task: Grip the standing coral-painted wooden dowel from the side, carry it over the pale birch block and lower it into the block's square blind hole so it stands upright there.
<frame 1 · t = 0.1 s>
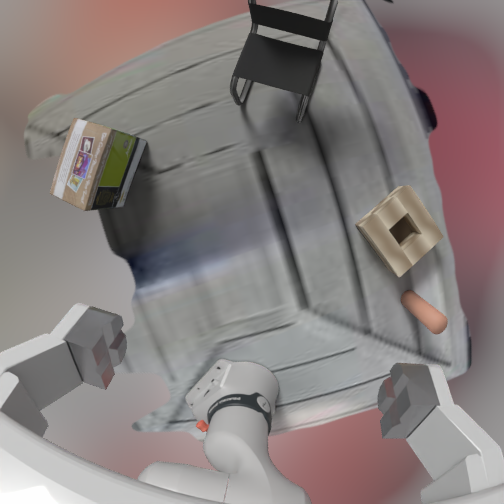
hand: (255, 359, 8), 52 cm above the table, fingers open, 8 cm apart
tea box: (117, 167, 61), on the table
socket block: (394, 228, 58), on the table
dowel: (408, 298, 60), on the table
chair: (280, 80, 55), on the table
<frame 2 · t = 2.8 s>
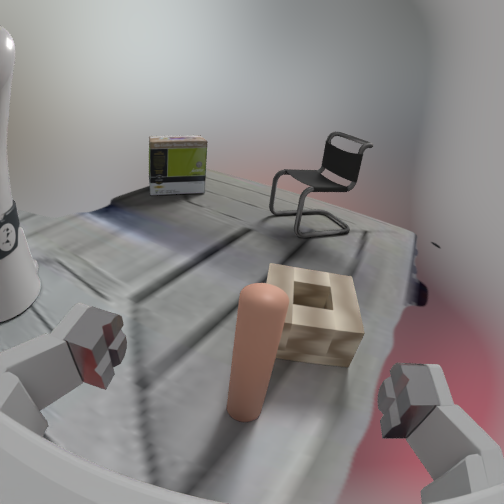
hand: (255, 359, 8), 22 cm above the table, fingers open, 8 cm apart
tea box: (175, 189, 85), on the table
socket block: (302, 329, 42), on the table
dowel: (244, 407, 30), on the table
chair: (310, 224, 74), on the table
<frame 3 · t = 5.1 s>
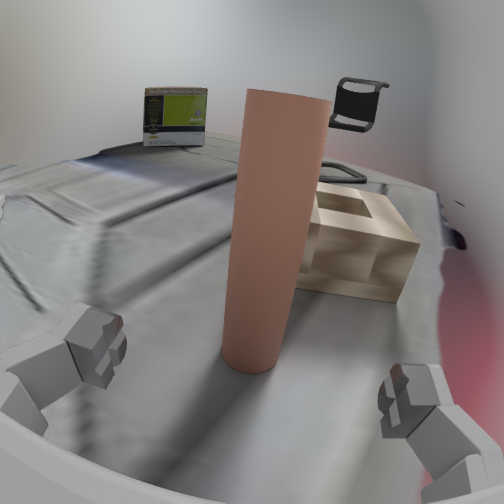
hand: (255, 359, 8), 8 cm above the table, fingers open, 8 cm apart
tea box: (171, 143, 74), on the table
socket block: (328, 258, 31), on the table
dowel: (250, 352, 19), on the table
chair: (322, 173, 63), on the table
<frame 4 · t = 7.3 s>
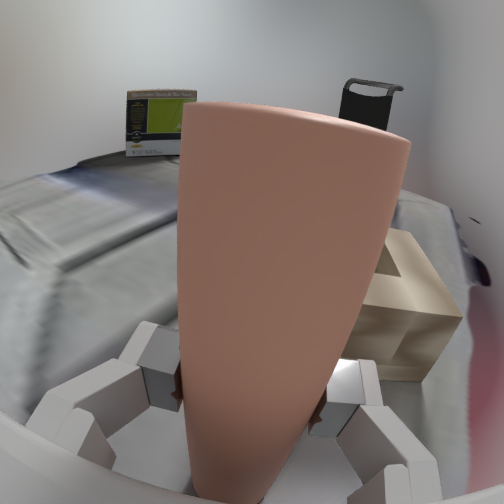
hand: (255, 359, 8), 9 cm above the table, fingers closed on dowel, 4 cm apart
tea box: (158, 152, 67), on the table
socket block: (338, 318, 24), on the table
dowel: (230, 480, 12), on the table, touching gripper
chair: (326, 188, 56), on the table
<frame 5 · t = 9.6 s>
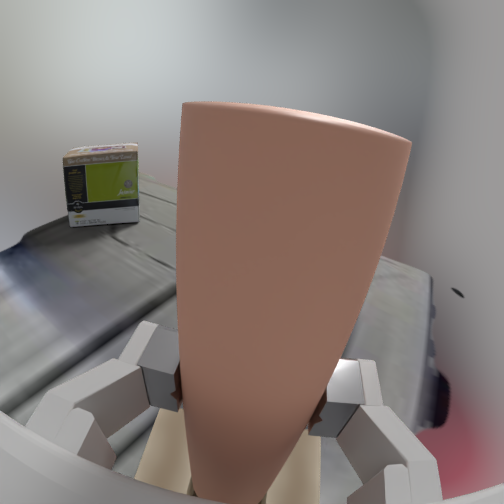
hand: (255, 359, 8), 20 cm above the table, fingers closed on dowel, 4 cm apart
tea box: (105, 217, 61), on the table
dowel: (230, 480, 12), point 11 cm above the table, touching gripper
when the fingers open (11 cm above the table, at t = 12.0 s): dowel drops 1 cm, resting on socket block.
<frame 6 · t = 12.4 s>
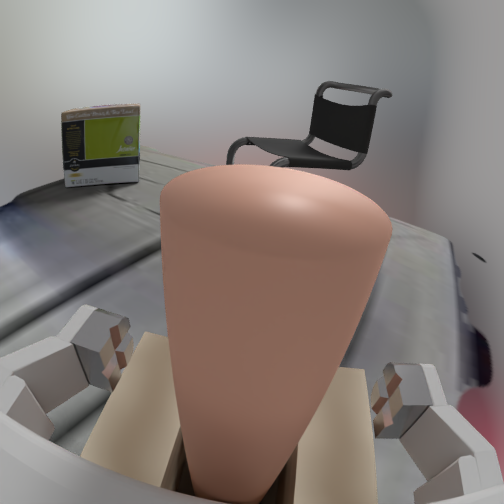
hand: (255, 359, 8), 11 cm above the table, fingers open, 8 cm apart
tea box: (103, 179, 56), on the table
socket block: (227, 493, 13), on the table
dowel: (228, 487, 12), point 2 cm above the table, touching socket block
chair: (289, 226, 46), on the table
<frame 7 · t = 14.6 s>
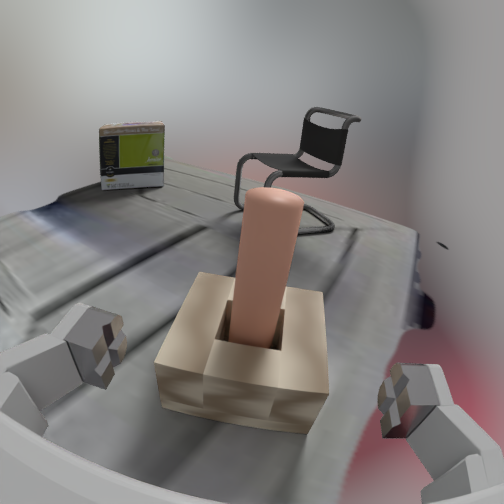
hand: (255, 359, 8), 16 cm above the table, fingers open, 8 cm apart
tea box: (132, 183, 71), on the table
socket block: (245, 370, 27), on the table
dowel: (246, 359, 27), point 2 cm above the table, touching socket block
chair: (284, 221, 60), on the table
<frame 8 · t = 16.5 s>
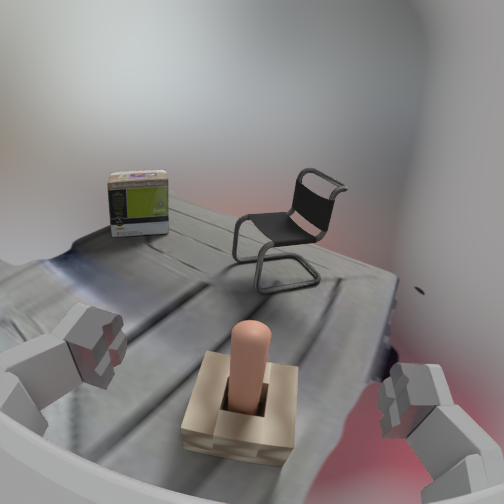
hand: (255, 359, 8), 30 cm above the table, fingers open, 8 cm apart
tea box: (139, 228, 79), on the table
socket block: (240, 420, 36), on the table
dowel: (241, 414, 35), point 2 cm above the table, touching socket block
chair: (276, 273, 68), on the table
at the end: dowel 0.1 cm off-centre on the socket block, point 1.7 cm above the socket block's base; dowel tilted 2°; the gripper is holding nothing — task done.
